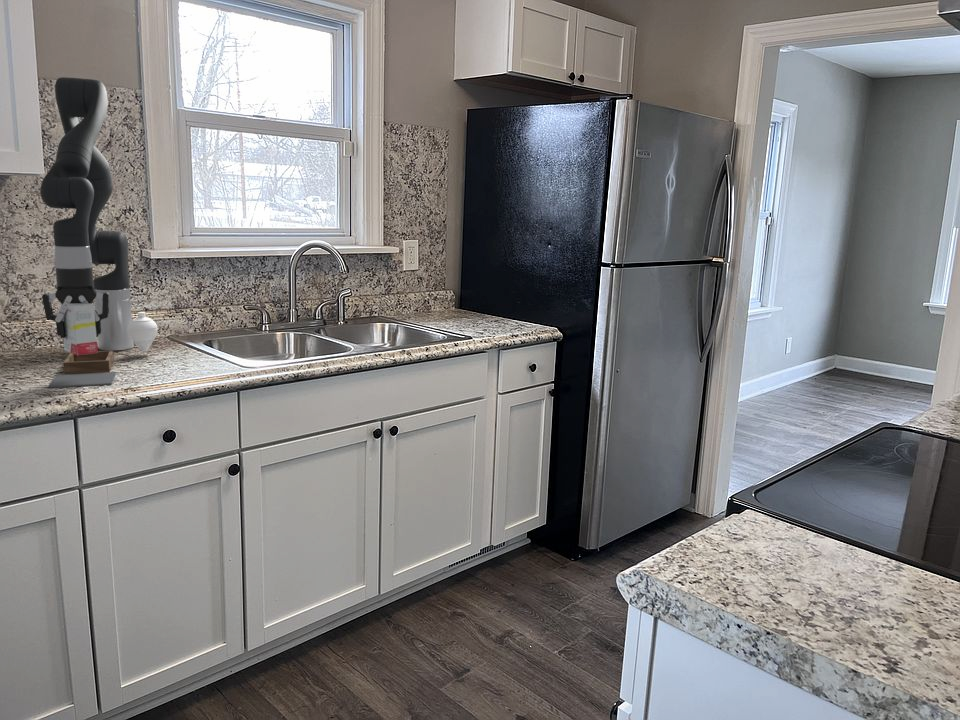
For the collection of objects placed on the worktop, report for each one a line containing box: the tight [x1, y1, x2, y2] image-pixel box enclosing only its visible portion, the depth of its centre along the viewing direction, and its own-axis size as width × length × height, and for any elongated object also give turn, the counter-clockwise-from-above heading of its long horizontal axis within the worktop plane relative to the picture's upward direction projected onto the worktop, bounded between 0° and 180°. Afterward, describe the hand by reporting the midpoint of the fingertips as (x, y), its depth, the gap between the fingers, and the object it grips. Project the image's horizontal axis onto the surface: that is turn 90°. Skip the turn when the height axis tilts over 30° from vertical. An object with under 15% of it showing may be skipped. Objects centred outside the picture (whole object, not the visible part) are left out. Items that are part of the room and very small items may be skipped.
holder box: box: [62, 350, 115, 374], centre depth 191 cm, size 13×10×3 cm
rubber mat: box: [47, 371, 117, 389], centre depth 179 cm, size 12×13×1 cm
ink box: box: [59, 301, 99, 355], centre depth 176 cm, size 9×5×12 cm, turn 46°
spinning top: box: [127, 311, 159, 356], centre depth 207 cm, size 8×8×12 cm
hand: (79, 336), depth 177 cm, fingers closed on ink box, 6 cm apart
